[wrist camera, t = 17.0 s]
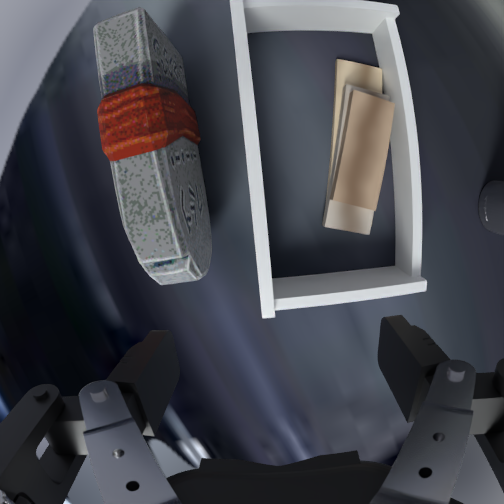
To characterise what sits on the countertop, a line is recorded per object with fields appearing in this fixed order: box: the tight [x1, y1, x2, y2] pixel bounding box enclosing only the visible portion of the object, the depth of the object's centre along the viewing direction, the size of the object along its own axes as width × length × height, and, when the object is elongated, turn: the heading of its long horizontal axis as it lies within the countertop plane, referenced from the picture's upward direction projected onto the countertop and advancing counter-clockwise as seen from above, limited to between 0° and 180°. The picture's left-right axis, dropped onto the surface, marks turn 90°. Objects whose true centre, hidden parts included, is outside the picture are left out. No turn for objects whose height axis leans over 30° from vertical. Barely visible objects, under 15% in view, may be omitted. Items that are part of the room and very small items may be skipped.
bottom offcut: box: [326, 59, 382, 226], centre depth 41 cm, size 7×24×2 cm, turn 175°
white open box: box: [230, 0, 427, 318], centre depth 36 cm, size 22×40×10 cm, turn 6°
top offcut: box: [330, 90, 395, 211], centre depth 37 cm, size 6×15×2 cm, turn 169°
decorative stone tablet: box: [93, 7, 212, 285], centre depth 33 cm, size 19×6×30 cm
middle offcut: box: [322, 84, 390, 235], centre depth 40 cm, size 6×20×2 cm, turn 171°
